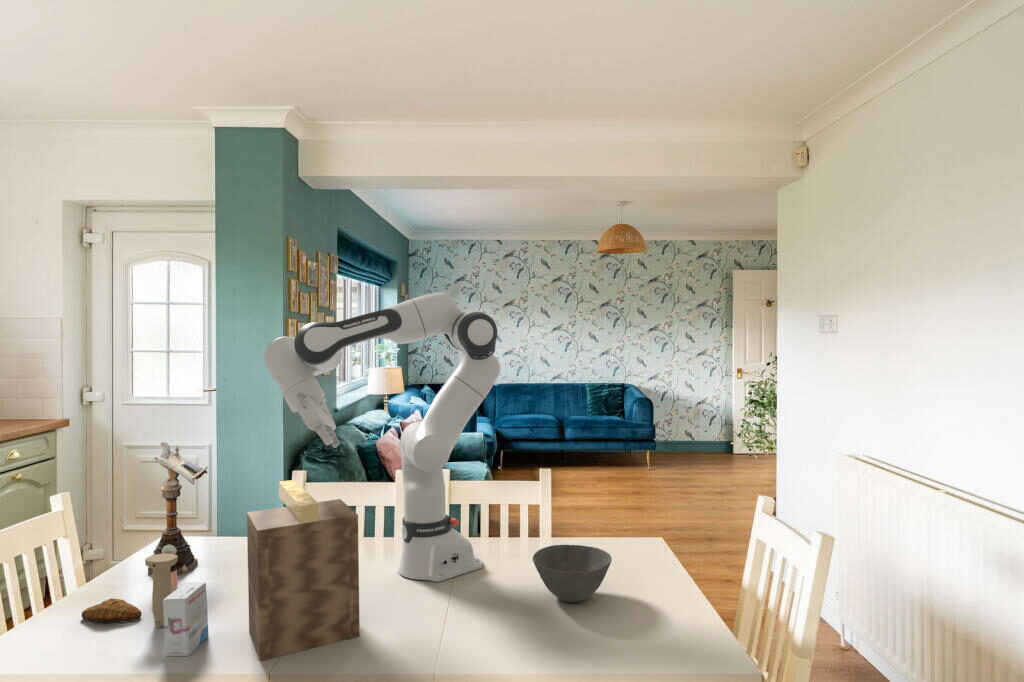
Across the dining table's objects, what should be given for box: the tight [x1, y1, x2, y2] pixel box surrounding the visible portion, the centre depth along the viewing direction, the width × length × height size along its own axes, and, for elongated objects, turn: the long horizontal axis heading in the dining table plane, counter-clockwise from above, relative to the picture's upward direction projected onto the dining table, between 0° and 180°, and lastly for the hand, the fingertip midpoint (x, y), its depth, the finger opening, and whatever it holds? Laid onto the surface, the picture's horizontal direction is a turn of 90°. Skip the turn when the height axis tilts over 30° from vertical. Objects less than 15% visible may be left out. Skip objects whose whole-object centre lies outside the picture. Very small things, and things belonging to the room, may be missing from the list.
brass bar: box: [278, 479, 319, 524], centre depth 142 cm, size 4×23×4 cm, turn 30°
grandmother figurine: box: [150, 544, 187, 593], centre depth 158 cm, size 8×4×13 cm, turn 131°
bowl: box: [532, 544, 612, 603], centre depth 157 cm, size 19×19×10 cm
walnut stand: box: [246, 498, 361, 662], centre depth 139 cm, size 20×14×26 cm
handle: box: [144, 554, 177, 629], centre depth 144 cm, size 5×6×15 cm
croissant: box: [81, 598, 143, 624], centre depth 147 cm, size 14×7×5 cm, turn 86°
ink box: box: [163, 581, 209, 657], centre depth 134 cm, size 9×5×12 cm, turn 178°
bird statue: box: [147, 441, 208, 576], centre depth 177 cm, size 17×13×35 cm
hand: (333, 444), depth 160 cm, fingers open, 8 cm apart
